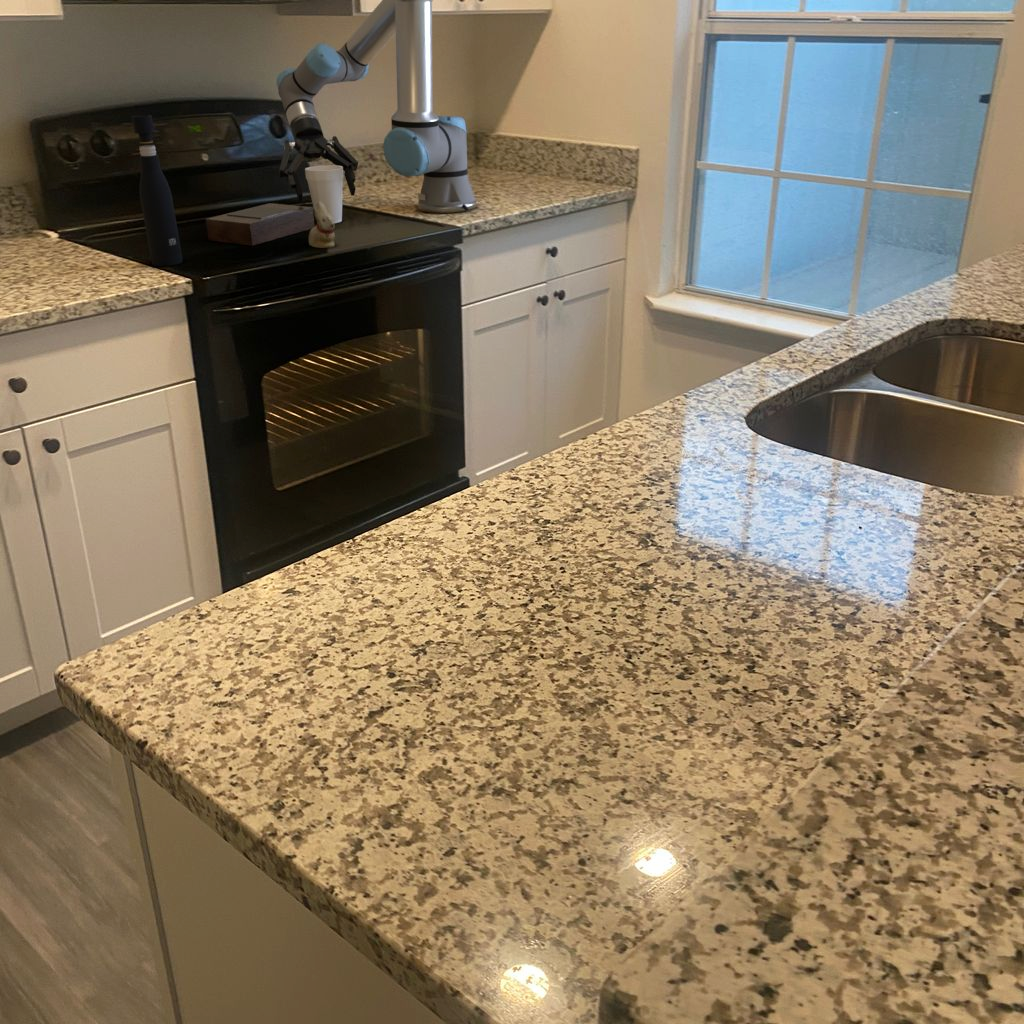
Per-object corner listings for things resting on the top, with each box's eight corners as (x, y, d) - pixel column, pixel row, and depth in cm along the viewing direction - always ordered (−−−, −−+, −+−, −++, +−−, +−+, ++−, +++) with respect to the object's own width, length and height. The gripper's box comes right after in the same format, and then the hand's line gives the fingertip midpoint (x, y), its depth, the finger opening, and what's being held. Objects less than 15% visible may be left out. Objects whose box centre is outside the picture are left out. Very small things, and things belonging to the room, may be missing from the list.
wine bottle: (158, 259, 226) (131, 114, 212) (186, 259, 226) (162, 113, 212) (148, 266, 220) (120, 117, 207) (177, 266, 220) (151, 117, 206)
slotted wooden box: (314, 227, 253) (312, 206, 251) (252, 245, 237) (249, 222, 234) (272, 223, 260) (269, 202, 257) (208, 240, 243) (205, 218, 241)
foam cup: (352, 217, 264) (347, 165, 258) (343, 224, 256) (338, 170, 250) (316, 217, 265) (310, 165, 259) (306, 225, 257) (300, 171, 251)
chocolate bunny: (314, 249, 231) (309, 204, 226) (307, 243, 237) (302, 198, 233) (338, 247, 232) (333, 202, 228) (330, 240, 239) (326, 196, 235)
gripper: (349, 132, 270) (372, 199, 265) (255, 139, 261) (276, 209, 255) (353, 112, 263) (377, 180, 258) (257, 118, 254) (279, 190, 249)
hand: (327, 195), depth 257 cm, fingers open, 13 cm apart
